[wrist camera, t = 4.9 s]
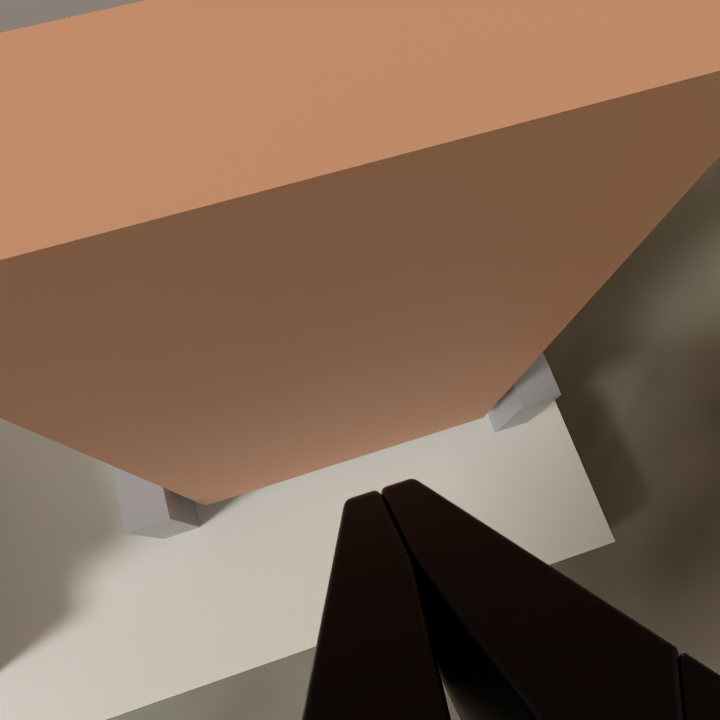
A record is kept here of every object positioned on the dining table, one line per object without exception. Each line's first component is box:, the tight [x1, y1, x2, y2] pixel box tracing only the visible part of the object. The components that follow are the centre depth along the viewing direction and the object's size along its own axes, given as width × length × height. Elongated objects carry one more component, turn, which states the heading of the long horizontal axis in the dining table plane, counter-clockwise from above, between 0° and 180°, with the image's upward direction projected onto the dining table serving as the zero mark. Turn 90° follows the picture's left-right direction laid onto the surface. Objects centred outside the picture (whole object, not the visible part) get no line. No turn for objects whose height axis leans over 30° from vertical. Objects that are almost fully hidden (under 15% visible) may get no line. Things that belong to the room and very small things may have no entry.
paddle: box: [0, 0, 720, 506], centre depth 9 cm, size 2×6×11 cm, turn 108°
